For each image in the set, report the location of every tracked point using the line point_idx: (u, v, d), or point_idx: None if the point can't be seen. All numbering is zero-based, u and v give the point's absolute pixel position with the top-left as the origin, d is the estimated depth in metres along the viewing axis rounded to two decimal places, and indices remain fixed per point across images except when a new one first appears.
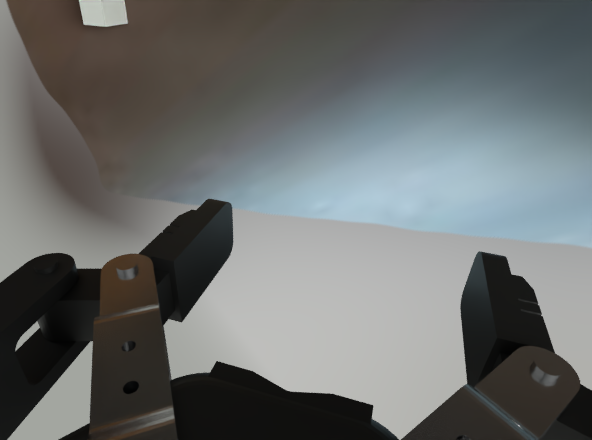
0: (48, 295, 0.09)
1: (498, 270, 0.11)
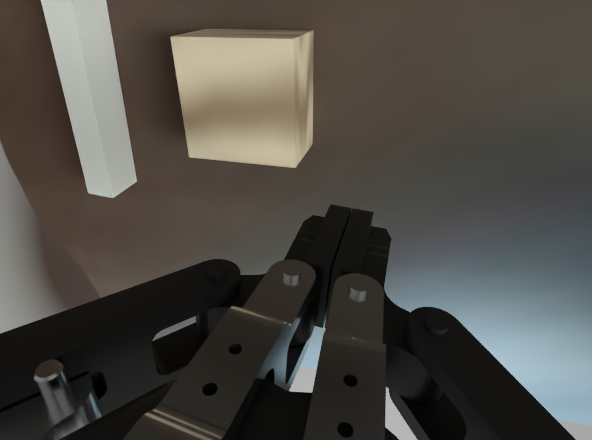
0: (198, 302, 0.09)
1: (360, 221, 0.13)
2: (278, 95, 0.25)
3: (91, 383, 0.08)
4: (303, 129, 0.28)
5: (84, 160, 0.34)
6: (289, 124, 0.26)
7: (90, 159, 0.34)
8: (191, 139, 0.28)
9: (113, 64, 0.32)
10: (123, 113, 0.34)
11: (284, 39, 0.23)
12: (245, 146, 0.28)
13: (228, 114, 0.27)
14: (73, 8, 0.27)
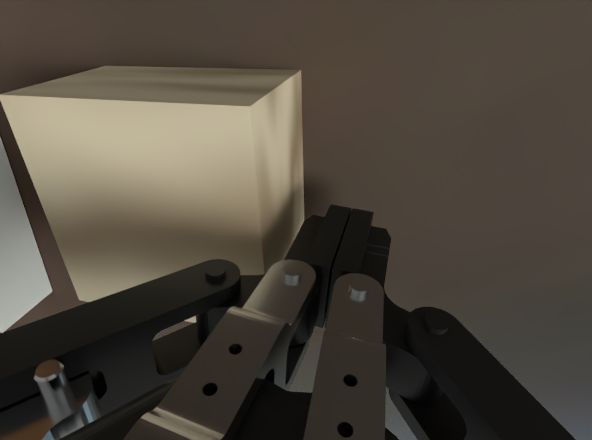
0: (198, 302, 0.09)
1: (360, 221, 0.13)
2: (227, 215, 0.12)
3: (91, 383, 0.08)
4: (285, 256, 0.15)
5: None
6: (254, 268, 0.13)
7: None
8: (77, 274, 0.15)
9: None
10: (17, 198, 0.21)
11: (230, 106, 0.10)
12: None
13: (135, 241, 0.13)
14: None
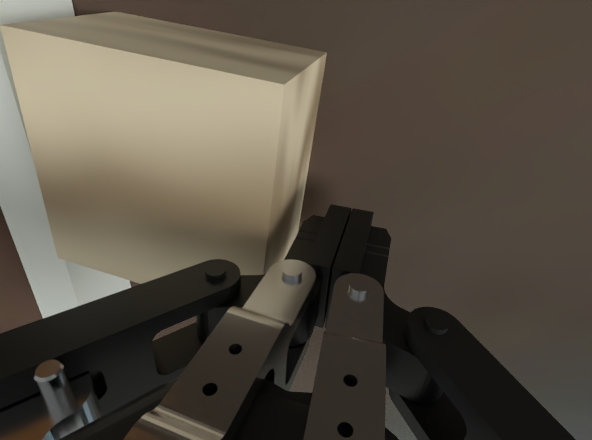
0: (198, 302, 0.09)
1: (360, 221, 0.13)
2: (237, 193, 0.11)
3: (91, 383, 0.08)
4: (282, 240, 0.15)
5: (44, 301, 0.19)
6: (255, 249, 0.12)
7: (53, 301, 0.19)
8: (59, 230, 0.14)
9: None
10: None
11: (262, 81, 0.10)
12: (163, 265, 0.14)
13: (131, 205, 0.13)
14: (0, 48, 0.13)
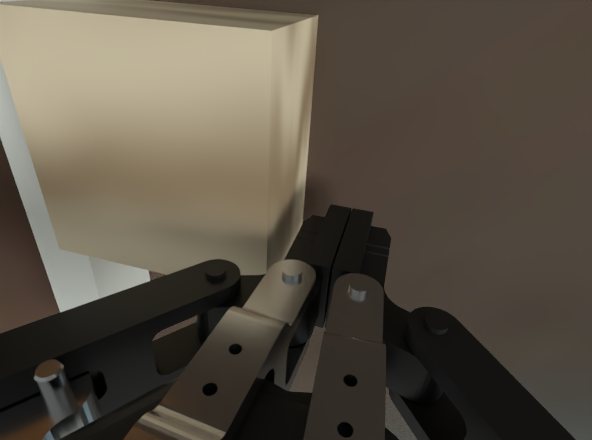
0: (199, 302, 0.09)
1: (360, 221, 0.13)
2: (233, 158, 0.11)
3: (91, 383, 0.08)
4: (287, 214, 0.14)
5: None
6: (256, 219, 0.12)
7: None
8: (59, 219, 0.14)
9: None
10: None
11: (249, 30, 0.09)
12: (164, 246, 0.13)
13: (127, 184, 0.12)
14: None
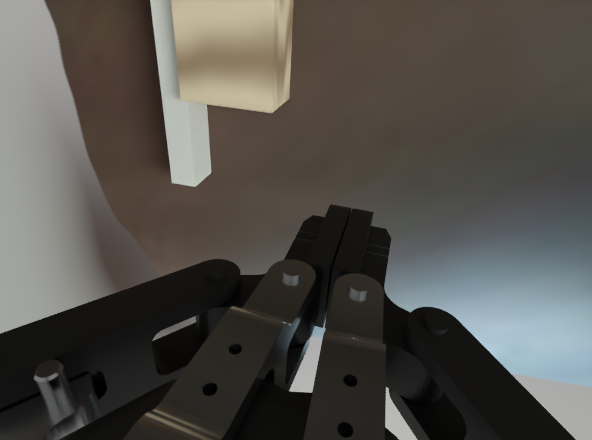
0: (198, 302, 0.09)
1: (360, 221, 0.13)
2: (260, 47, 0.30)
3: (91, 383, 0.08)
4: (280, 81, 0.33)
5: (172, 152, 0.38)
6: (268, 73, 0.30)
7: (178, 151, 0.38)
8: (183, 84, 0.33)
9: None
10: (206, 110, 0.38)
11: None
12: (229, 92, 0.32)
13: (217, 62, 0.31)
14: None
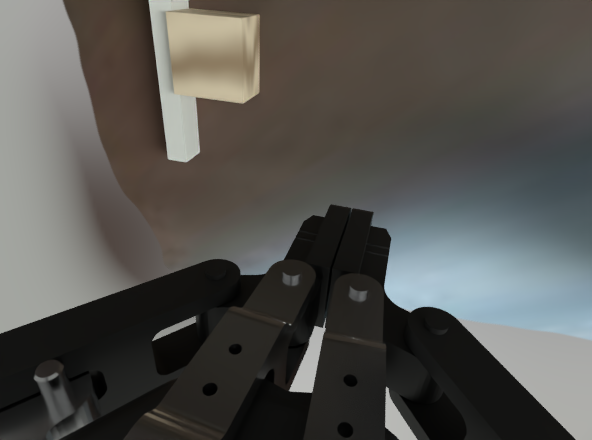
0: (199, 302, 0.09)
1: (360, 221, 0.13)
2: (232, 53, 0.40)
3: (91, 383, 0.08)
4: (250, 79, 0.43)
5: (168, 134, 0.48)
6: (239, 73, 0.41)
7: (172, 134, 0.48)
8: (176, 81, 0.43)
9: None
10: (195, 102, 0.49)
11: (236, 18, 0.38)
12: (211, 87, 0.42)
13: (201, 65, 0.41)
14: None
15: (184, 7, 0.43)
